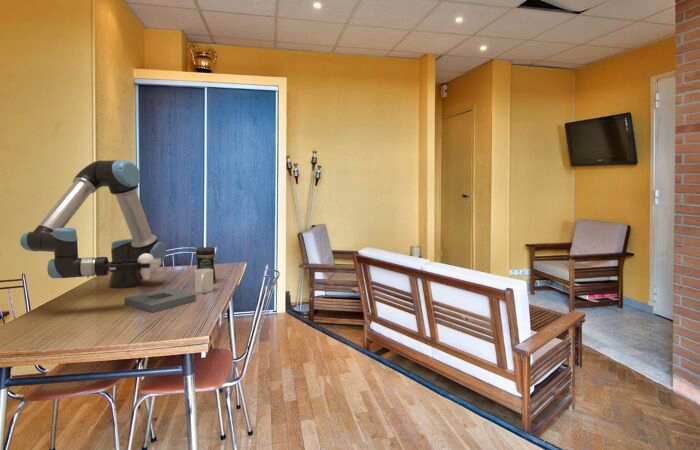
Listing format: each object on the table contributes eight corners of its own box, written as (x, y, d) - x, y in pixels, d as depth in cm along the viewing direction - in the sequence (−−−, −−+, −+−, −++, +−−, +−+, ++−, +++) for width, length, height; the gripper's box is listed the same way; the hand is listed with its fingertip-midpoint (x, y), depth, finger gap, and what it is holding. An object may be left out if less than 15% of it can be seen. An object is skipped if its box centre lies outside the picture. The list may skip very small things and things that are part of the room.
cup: (214, 288, 199) (213, 268, 198) (212, 294, 187) (211, 273, 186) (196, 289, 197) (195, 268, 196) (192, 295, 185) (192, 273, 184)
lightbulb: (142, 278, 170) (141, 252, 169) (157, 278, 171) (156, 252, 170) (135, 281, 164) (134, 254, 163) (151, 281, 164) (150, 254, 163)
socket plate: (124, 304, 170) (124, 297, 170) (168, 294, 187) (167, 288, 187) (152, 312, 160) (151, 305, 159) (195, 301, 176) (195, 294, 176)
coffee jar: (195, 284, 206) (194, 248, 204) (197, 281, 214) (196, 246, 212) (215, 284, 208) (214, 248, 206) (216, 280, 216) (215, 246, 214)
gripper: (102, 271, 170) (162, 267, 178) (89, 281, 152) (157, 276, 160) (101, 253, 169) (162, 250, 177) (88, 261, 152) (156, 258, 159)
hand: (159, 263), depth 168 cm, fingers closed on lightbulb, 6 cm apart
